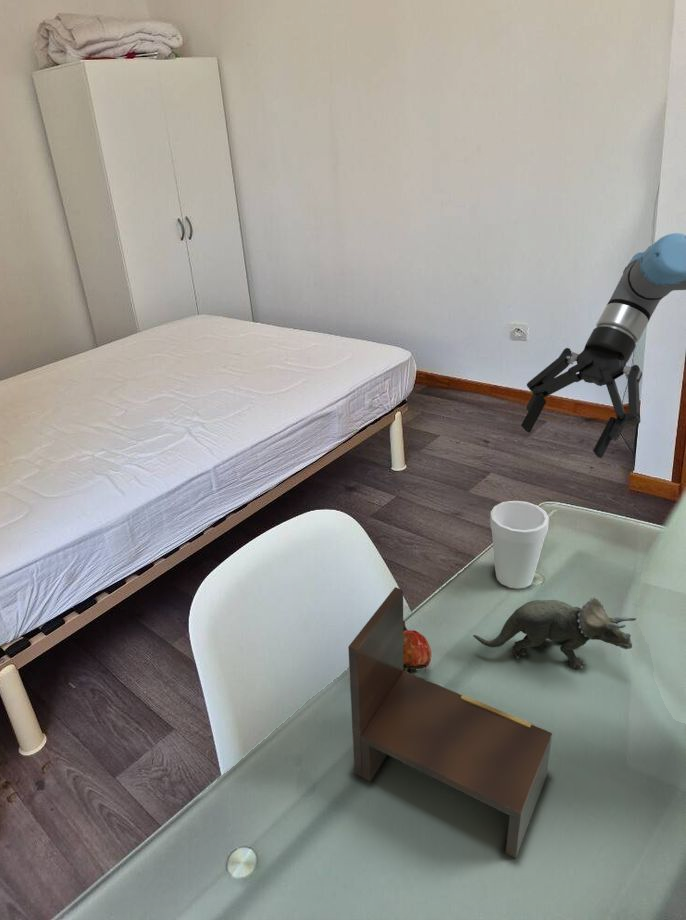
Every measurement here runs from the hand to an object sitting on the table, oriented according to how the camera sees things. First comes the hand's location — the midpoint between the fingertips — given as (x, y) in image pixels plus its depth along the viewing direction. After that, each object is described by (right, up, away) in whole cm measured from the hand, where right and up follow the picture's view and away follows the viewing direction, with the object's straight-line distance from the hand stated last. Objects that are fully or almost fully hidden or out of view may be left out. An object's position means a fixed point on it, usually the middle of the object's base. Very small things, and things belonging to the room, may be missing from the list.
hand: (559, 441), depth 118 cm
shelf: (-25, -42, -30) cm, 57 cm away
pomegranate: (-28, -35, -14) cm, 47 cm away
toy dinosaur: (-6, -32, -12) cm, 35 cm away
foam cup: (-7, -24, +4) cm, 26 cm away
